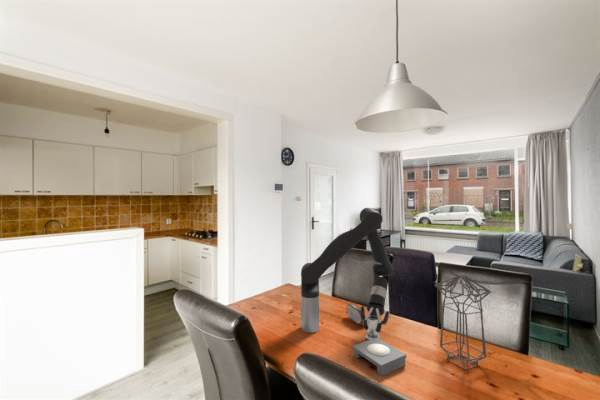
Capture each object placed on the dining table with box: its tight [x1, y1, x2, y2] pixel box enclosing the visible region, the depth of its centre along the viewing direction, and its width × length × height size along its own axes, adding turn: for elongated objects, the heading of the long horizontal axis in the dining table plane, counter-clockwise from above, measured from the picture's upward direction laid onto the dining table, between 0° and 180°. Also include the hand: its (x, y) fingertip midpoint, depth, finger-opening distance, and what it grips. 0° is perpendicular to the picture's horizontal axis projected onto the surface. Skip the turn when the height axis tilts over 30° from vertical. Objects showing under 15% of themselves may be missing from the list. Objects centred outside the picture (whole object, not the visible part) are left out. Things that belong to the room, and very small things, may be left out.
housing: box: [365, 316, 381, 341], centre depth 128 cm, size 7×7×10 cm
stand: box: [351, 338, 407, 377], centre depth 111 cm, size 16×14×4 cm
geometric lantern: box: [434, 274, 493, 371], centre depth 109 cm, size 16×16×35 cm
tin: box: [346, 302, 364, 325], centre depth 148 cm, size 15×3×8 cm, turn 22°
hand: (371, 330), depth 127 cm, fingers closed on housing, 5 cm apart
